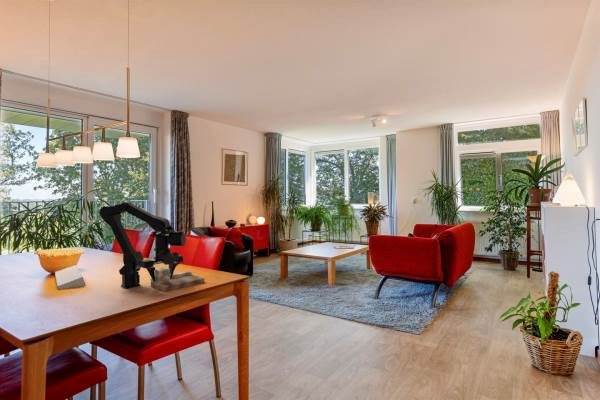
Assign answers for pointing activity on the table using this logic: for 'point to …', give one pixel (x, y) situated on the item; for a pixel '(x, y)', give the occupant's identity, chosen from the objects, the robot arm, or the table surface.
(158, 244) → the robot arm
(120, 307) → the table surface
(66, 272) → the white wedge doorstop
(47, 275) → the table surface
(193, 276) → the board
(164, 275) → the ball-top joystick
